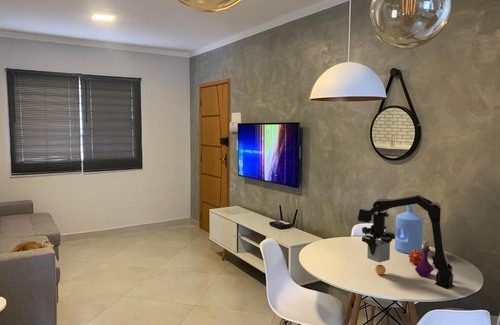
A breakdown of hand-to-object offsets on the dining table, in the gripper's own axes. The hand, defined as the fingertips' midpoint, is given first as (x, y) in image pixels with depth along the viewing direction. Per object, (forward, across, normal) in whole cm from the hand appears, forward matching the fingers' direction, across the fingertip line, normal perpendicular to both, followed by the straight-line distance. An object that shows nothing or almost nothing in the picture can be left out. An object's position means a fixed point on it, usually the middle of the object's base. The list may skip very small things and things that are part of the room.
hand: (377, 253), depth 196 cm
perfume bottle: (+11, -19, +14) cm, 26 cm away
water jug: (+11, -45, -15) cm, 49 cm away
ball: (+8, 0, +2) cm, 8 cm away
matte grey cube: (+3, 0, 0) cm, 3 cm away
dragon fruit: (+11, -29, +3) cm, 31 cm away
